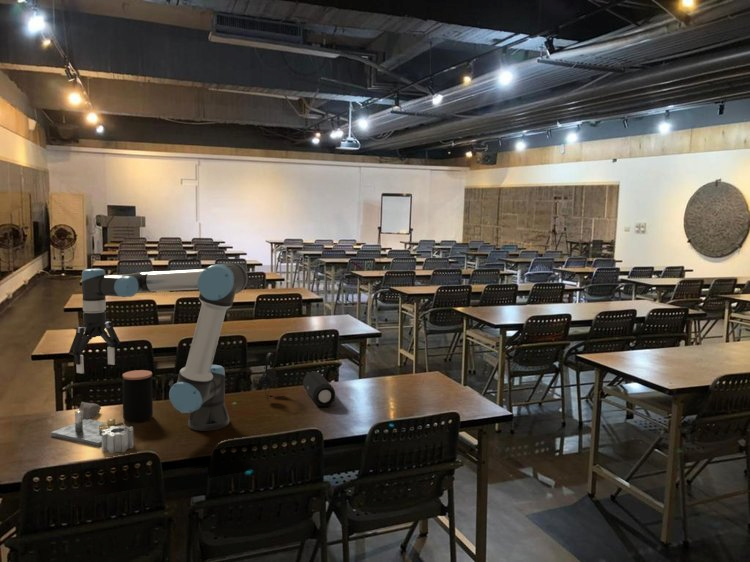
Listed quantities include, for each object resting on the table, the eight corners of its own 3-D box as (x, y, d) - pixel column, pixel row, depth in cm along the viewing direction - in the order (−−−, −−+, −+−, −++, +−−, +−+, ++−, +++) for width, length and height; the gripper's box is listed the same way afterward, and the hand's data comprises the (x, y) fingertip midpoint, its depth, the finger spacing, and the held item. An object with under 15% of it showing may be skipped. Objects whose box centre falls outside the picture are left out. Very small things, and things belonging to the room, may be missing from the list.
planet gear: (139, 444, 193) (139, 427, 193) (117, 455, 184) (117, 437, 183) (117, 439, 197) (117, 423, 196) (95, 450, 187) (94, 432, 187)
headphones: (282, 403, 242) (283, 358, 239) (256, 402, 242) (257, 357, 239) (288, 392, 256) (289, 350, 254) (264, 391, 257) (264, 349, 254)
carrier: (131, 431, 204) (131, 409, 203) (98, 446, 190) (98, 422, 189) (86, 422, 212) (85, 400, 211) (51, 436, 198) (50, 413, 197)
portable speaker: (301, 391, 259) (301, 370, 258) (322, 390, 263) (322, 369, 262) (314, 409, 235) (314, 386, 234) (336, 407, 239) (337, 385, 238)
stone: (100, 419, 216) (99, 405, 215) (76, 422, 212) (76, 407, 212) (101, 411, 225) (101, 397, 224) (78, 413, 221) (78, 399, 221)
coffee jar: (158, 416, 221) (158, 372, 219) (139, 425, 211) (138, 378, 209) (137, 412, 224) (136, 368, 222) (116, 421, 214) (116, 375, 212)
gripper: (114, 306, 215) (116, 359, 218) (56, 315, 192) (58, 375, 195) (129, 307, 213) (130, 362, 215) (71, 317, 190) (73, 378, 192)
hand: (96, 368), depth 205 cm, fingers open, 13 cm apart
